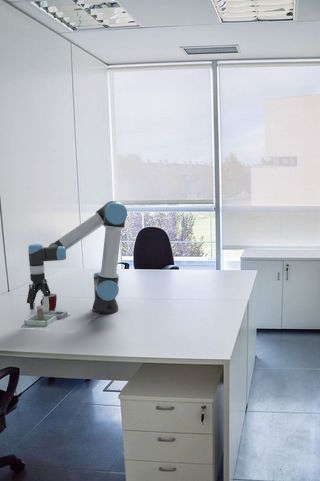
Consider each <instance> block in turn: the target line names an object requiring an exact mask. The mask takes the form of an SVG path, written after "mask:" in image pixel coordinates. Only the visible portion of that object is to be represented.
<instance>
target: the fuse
mask: <svg viewBox="0 0 320 481" xmlns="http://www.w3.org/2000/svg"><path fill="white" fill-rule="evenodd" d="M41 300H42V299H41ZM42 303H43V314H49V308H44V300H42Z"/></svg>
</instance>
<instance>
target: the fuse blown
mask: <svg viewBox="0 0 320 481" xmlns="http://www.w3.org/2000/svg"><path fill="white" fill-rule="evenodd" d="M35 309H36V315H37V318H38V319H36V321H45V320H44V316H43V306H41V305H37V306H36V305H35Z"/></svg>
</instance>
